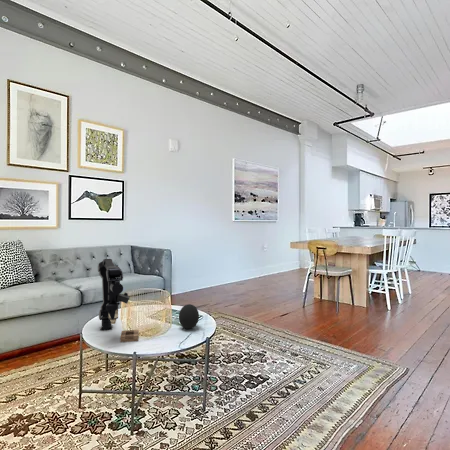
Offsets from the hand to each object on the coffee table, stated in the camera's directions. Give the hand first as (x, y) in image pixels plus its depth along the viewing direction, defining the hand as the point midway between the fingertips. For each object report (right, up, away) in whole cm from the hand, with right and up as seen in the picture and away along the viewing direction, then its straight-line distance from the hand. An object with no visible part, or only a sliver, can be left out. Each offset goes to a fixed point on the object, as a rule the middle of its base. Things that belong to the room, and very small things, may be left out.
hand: (113, 318), depth 180 cm
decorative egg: (+40, -12, +20) cm, 46 cm away
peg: (0, -3, 0) cm, 3 cm away
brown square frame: (+9, -12, +2) cm, 15 cm away
